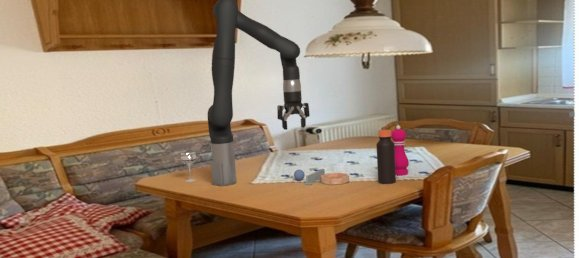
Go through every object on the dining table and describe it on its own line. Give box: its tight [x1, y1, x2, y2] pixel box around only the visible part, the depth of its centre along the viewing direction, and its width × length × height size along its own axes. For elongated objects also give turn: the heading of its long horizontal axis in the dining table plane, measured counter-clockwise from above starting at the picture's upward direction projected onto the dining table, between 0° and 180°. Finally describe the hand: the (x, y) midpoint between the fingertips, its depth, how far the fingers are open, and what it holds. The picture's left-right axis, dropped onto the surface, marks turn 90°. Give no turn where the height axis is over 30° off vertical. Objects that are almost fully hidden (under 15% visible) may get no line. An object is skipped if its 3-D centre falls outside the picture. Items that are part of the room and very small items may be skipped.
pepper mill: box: [391, 124, 410, 176], centre depth 231 cm, size 7×7×20 cm
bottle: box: [376, 129, 397, 185], centre depth 218 cm, size 7×7×20 cm
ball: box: [293, 169, 306, 181], centre depth 233 cm, size 4×4×4 cm
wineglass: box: [180, 151, 197, 183], centre depth 246 cm, size 7×7×12 cm
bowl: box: [320, 172, 350, 186], centre depth 226 cm, size 11×11×2 cm
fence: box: [303, 168, 326, 186], centre depth 229 cm, size 14×3×4 cm, turn 149°
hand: (294, 128), depth 242 cm, fingers open, 8 cm apart
